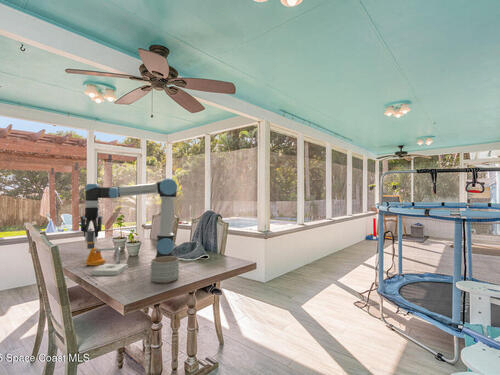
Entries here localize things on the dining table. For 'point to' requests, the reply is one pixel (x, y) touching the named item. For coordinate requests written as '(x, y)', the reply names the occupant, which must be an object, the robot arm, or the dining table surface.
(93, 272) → the socket block
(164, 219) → the robot arm
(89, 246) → the plug
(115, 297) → the dining table surface
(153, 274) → the planter
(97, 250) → the handle
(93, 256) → the bracket
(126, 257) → the dining table surface
